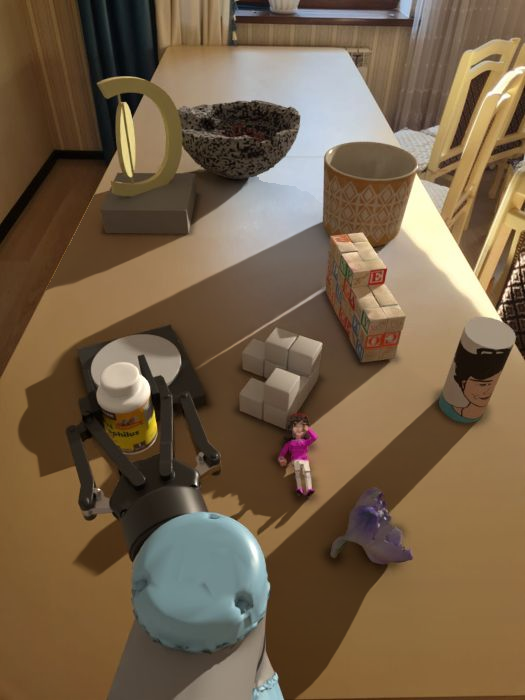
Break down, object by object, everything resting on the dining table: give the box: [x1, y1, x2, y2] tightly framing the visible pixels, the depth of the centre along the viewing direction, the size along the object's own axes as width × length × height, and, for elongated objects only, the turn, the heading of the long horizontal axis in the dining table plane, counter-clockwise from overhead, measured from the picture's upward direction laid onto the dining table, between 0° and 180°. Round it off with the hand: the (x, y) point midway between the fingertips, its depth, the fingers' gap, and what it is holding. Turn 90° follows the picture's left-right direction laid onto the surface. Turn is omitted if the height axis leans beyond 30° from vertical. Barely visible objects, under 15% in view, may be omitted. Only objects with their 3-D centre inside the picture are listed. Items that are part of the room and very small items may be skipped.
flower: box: [329, 486, 414, 565], centre depth 64 cm, size 9×9×10 cm
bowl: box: [177, 99, 301, 180], centre depth 140 cm, size 31×31×15 cm
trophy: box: [96, 75, 197, 235], centre depth 117 cm, size 19×19×30 cm
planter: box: [322, 141, 419, 248], centre depth 117 cm, size 19×19×16 cm
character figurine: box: [277, 412, 319, 498], centre depth 74 cm, size 6×5×12 cm
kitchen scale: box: [76, 324, 208, 431], centre depth 86 cm, size 16×18×3 cm
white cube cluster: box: [238, 327, 323, 430], centre depth 83 cm, size 12×12×8 cm
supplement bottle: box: [97, 362, 158, 455], centre depth 59 cm, size 6×6×10 cm
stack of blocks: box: [325, 233, 407, 363], centre depth 94 cm, size 21×6×12 cm, turn 12°
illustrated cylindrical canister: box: [438, 316, 517, 424], centre depth 79 cm, size 7×7×15 cm
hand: (115, 371), depth 62 cm, fingers closed on supplement bottle, 6 cm apart
